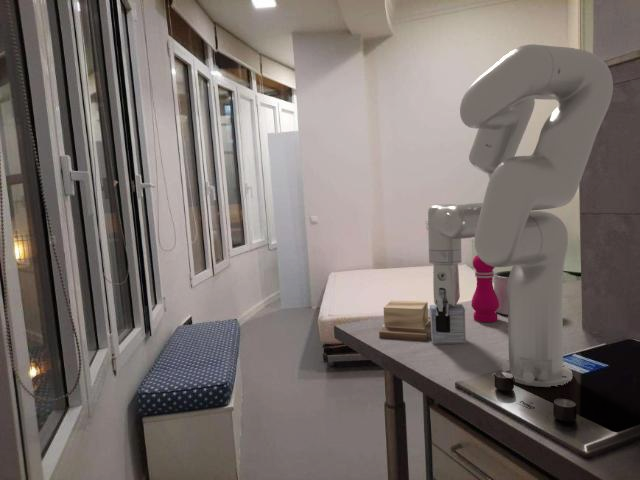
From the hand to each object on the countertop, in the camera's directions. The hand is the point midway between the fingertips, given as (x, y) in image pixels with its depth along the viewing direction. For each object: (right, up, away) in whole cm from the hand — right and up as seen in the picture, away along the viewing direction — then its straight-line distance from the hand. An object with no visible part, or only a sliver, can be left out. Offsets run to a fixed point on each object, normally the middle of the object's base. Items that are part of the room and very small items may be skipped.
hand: (446, 325), depth 115 cm
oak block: (-7, -1, +12) cm, 14 cm away
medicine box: (0, -4, 0) cm, 4 cm away
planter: (+27, 0, +22) cm, 35 cm away
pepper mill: (+15, -1, +16) cm, 22 cm away
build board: (-7, -3, +11) cm, 13 cm away
